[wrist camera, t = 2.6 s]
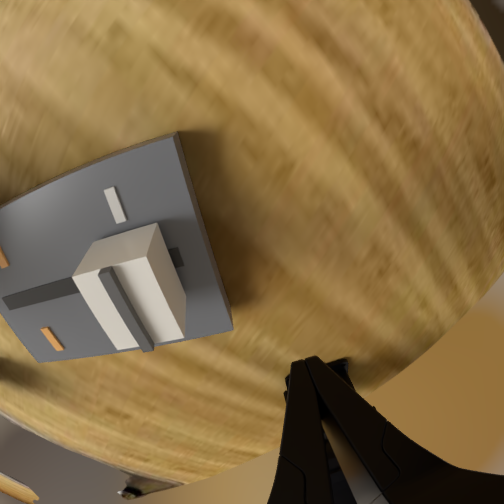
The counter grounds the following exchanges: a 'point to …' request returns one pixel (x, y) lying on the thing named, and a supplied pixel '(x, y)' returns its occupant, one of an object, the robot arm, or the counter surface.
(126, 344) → the fader tab
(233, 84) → the counter surface
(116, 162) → the fader console
